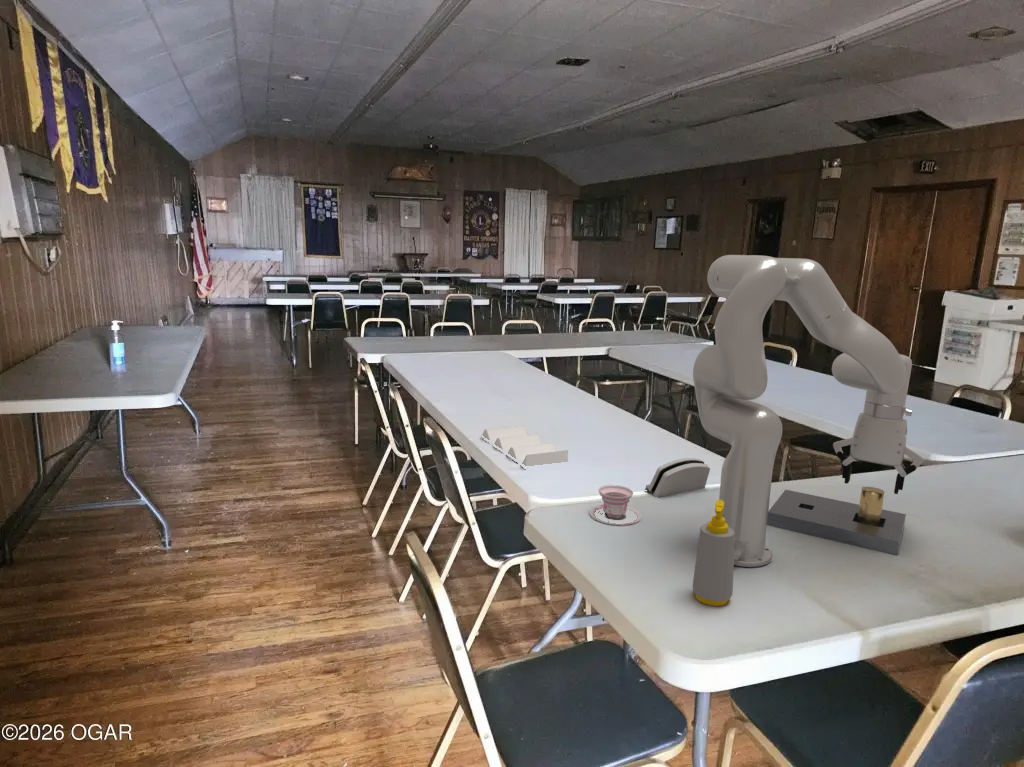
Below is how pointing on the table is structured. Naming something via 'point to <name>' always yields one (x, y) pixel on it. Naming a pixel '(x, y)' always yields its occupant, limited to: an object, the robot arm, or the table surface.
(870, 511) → the tan cylinder
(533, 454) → the white zigzag rack
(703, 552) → the soap bottle
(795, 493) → the plate
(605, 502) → the teacup
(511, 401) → the table surface
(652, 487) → the napkin holder
